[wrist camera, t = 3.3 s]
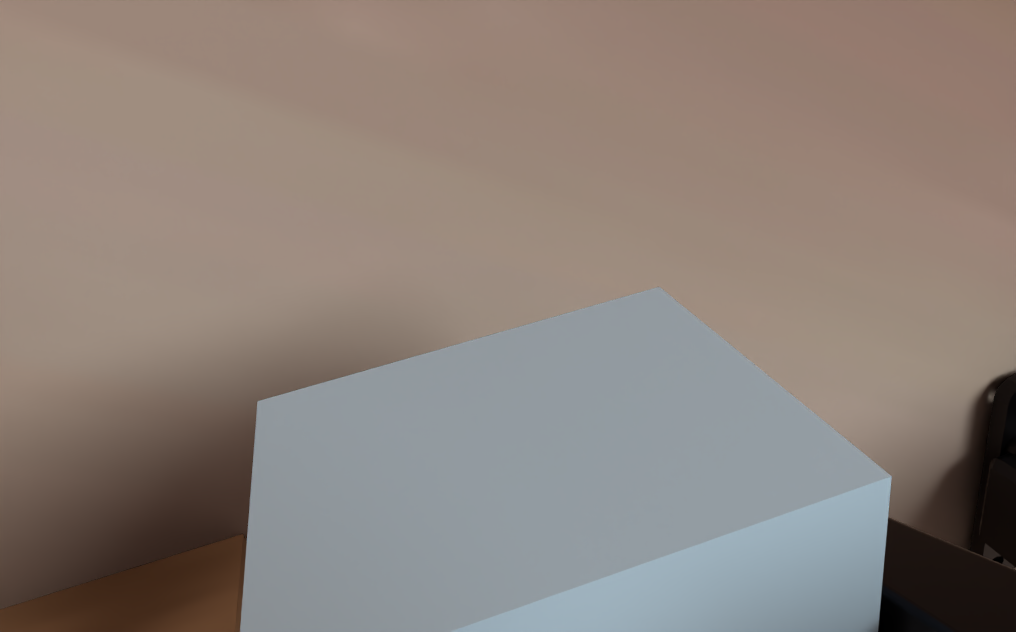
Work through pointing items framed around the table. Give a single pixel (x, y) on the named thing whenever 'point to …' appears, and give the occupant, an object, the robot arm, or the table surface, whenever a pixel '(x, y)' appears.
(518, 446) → the top block
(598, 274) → the table surface
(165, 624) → the base block
